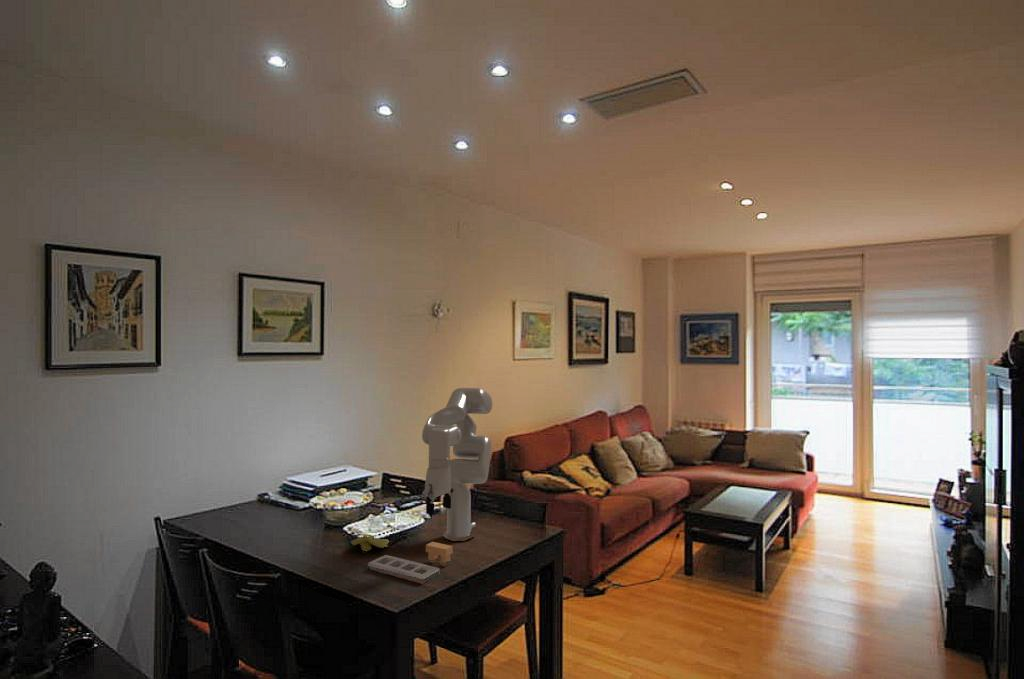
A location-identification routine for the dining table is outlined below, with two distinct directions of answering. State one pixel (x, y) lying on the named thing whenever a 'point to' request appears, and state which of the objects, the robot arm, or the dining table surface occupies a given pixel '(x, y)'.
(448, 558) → the tan rectangular block
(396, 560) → the grey slotted tray
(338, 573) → the dining table surface
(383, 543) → the banana bunch
